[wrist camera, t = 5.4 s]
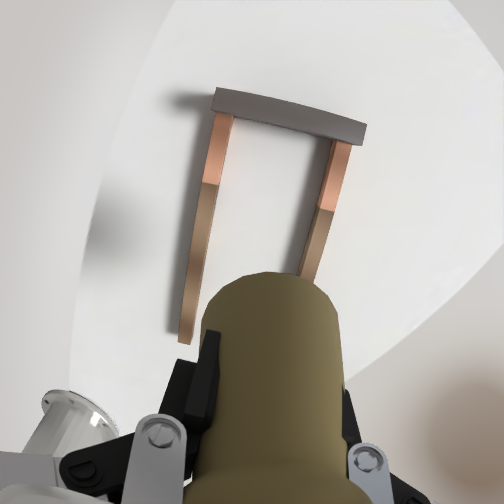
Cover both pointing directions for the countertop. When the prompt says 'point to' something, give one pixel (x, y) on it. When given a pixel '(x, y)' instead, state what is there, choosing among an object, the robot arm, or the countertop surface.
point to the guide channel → (226, 109)
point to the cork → (274, 398)
